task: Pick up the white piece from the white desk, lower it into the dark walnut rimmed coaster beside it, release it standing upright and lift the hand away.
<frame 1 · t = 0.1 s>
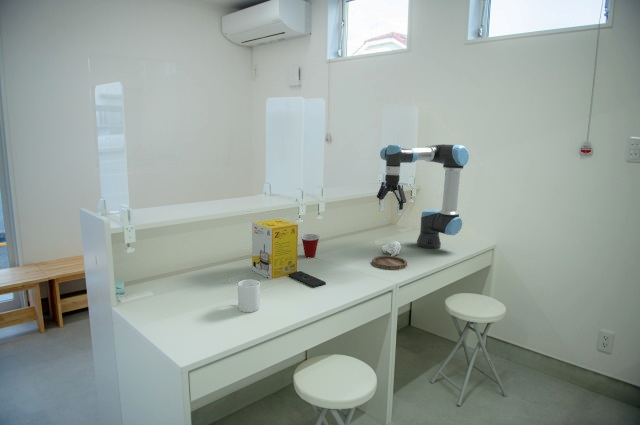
hand: (390, 213, 230), 28 cm above the table, tool pointing down, fingers open, 13 cm apart
mug: (246, 307, 172), on the table
smart home device: (306, 281, 205), on the table
white piece: (390, 254, 252), on the table
packaging box: (274, 271, 216), on the table
coaster: (389, 264, 233), on the table
plastic cup: (309, 256, 243), on the table
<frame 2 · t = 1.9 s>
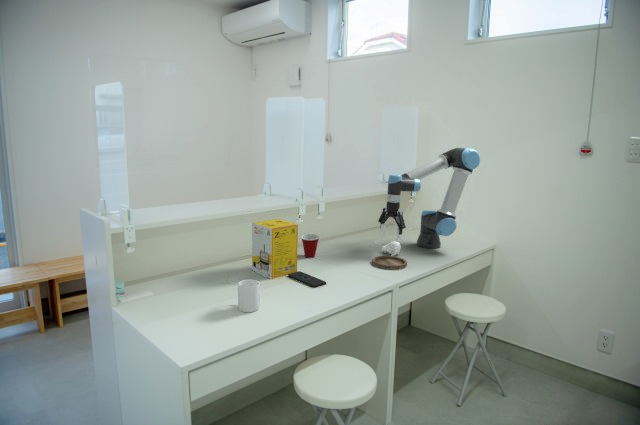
hand: (390, 237, 250), 10 cm above the table, tool pointing down, fingers open, 13 cm apart
nothing on the table moved.
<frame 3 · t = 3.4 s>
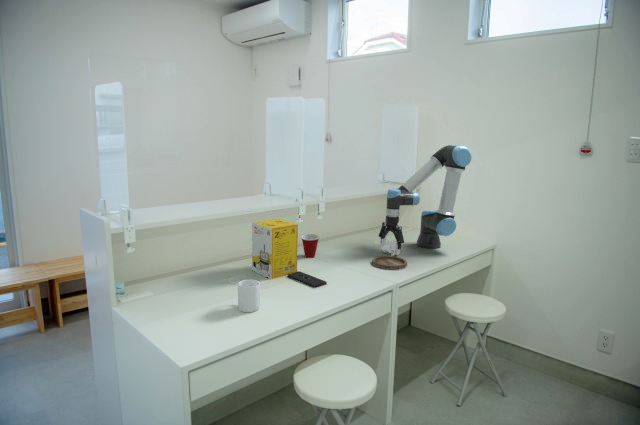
hand: (390, 251, 252), 2 cm above the table, tool pointing down, fingers closed on white piece, 12 cm apart
white piece: (390, 254, 252), on the table, touching gripper
everything else where it was.
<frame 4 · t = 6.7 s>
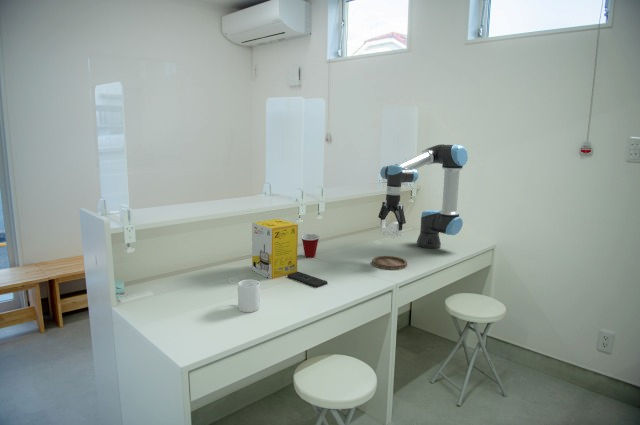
hand: (390, 233, 232), 17 cm above the table, tool pointing down, fingers closed on white piece, 12 cm apart
white piece: (390, 236, 232), point 15 cm above the table, touching gripper
everything else where it was.
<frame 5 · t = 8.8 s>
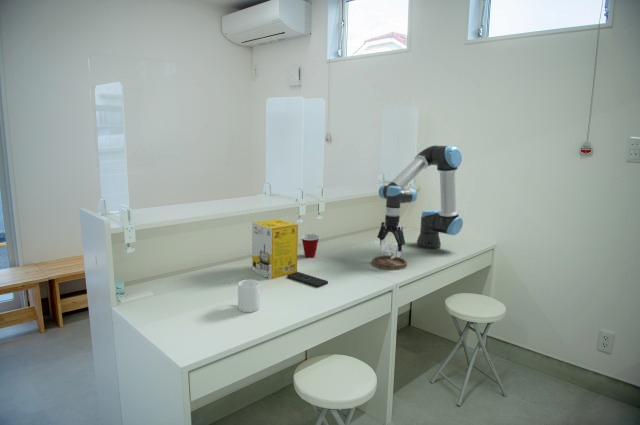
hand: (390, 254, 232), 6 cm above the table, tool pointing down, fingers closed on white piece, 12 cm apart
white piece: (389, 257, 232), point 4 cm above the table, touching gripper
everything else where it was.
when the fingers open (4 cm above the table, at t = 10.3 s): white piece drops 2 cm, resting on coaster.
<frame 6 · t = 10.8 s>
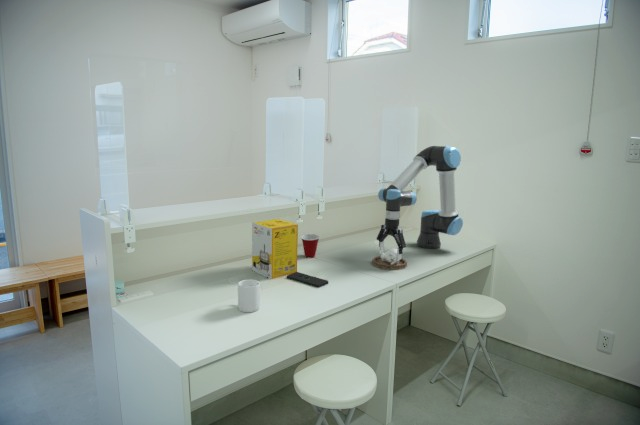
hand: (390, 256, 232), 4 cm above the table, tool pointing down, fingers open, 13 cm apart
white piece: (389, 263, 233), point 1 cm above the table, touching coaster
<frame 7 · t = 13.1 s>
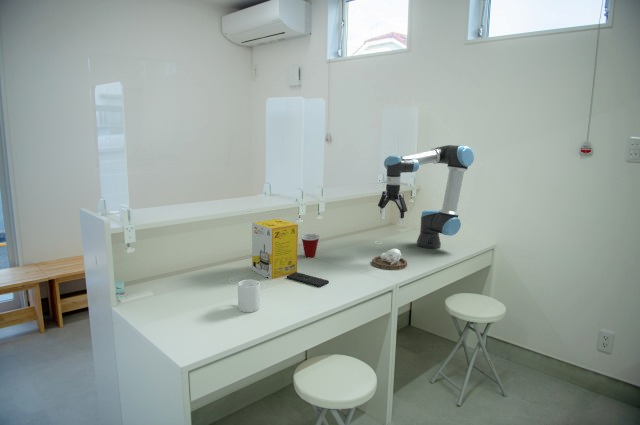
hand: (391, 221, 238), 22 cm above the table, tool pointing down, fingers open, 13 cm apart
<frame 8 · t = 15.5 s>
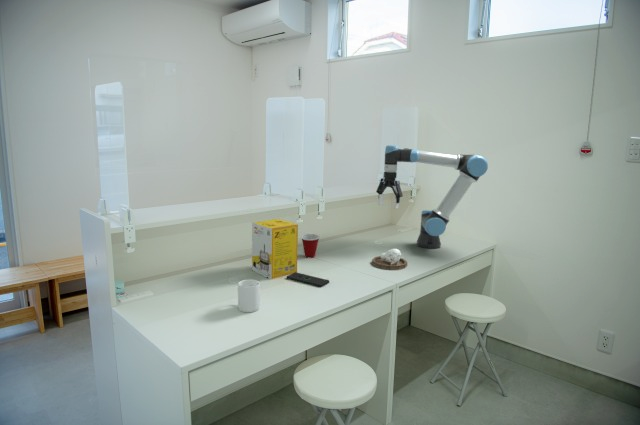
hand: (388, 206, 258), 27 cm above the table, tool pointing down, fingers open, 13 cm apart
at the end: white piece inside the target area on the coaster (0.1 cm from its centre), point 0.6 cm above the coaster's base; white piece tilted 0°; the gripper is holding nothing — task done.
